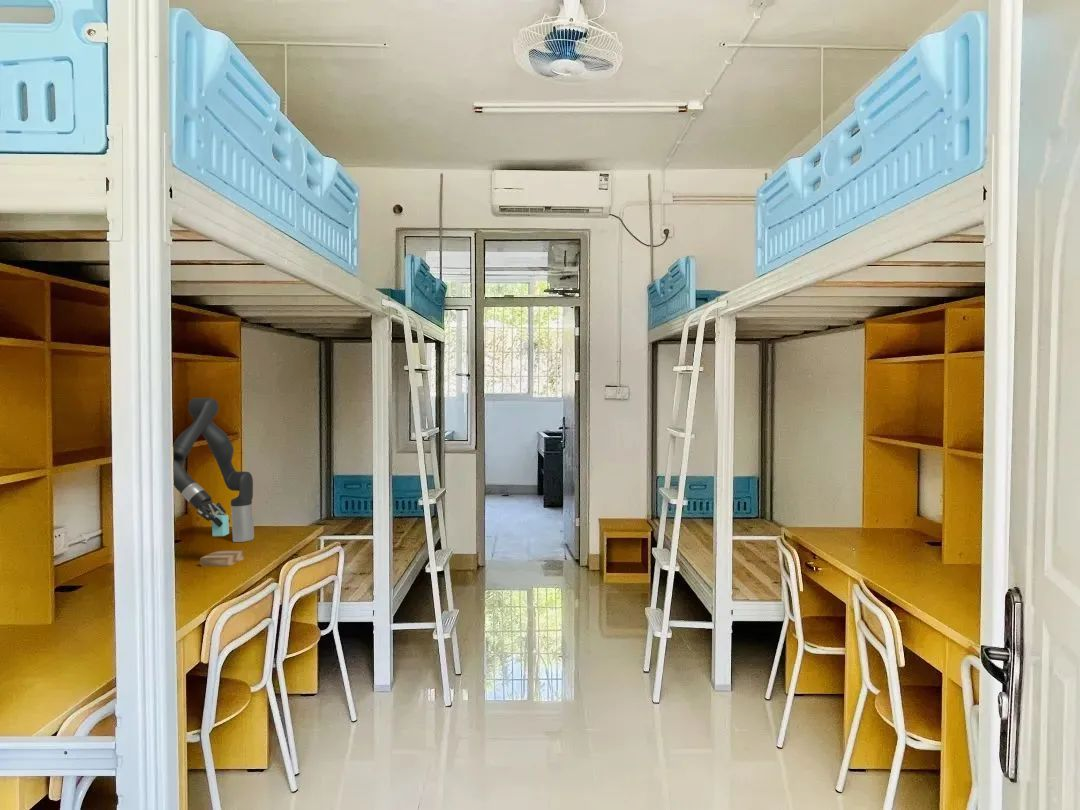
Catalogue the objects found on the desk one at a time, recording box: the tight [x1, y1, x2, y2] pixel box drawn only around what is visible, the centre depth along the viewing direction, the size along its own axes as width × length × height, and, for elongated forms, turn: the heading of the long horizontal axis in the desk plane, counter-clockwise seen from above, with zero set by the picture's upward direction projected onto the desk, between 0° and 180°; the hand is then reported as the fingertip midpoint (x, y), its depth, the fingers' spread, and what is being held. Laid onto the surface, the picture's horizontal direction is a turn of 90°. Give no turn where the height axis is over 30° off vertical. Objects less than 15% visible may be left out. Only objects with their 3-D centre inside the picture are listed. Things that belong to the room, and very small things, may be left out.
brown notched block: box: [199, 550, 245, 568], centre depth 280 cm, size 12×12×4 cm
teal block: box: [211, 514, 230, 537], centre depth 279 cm, size 5×5×8 cm
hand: (224, 523), depth 279 cm, fingers closed on teal block, 4 cm apart
